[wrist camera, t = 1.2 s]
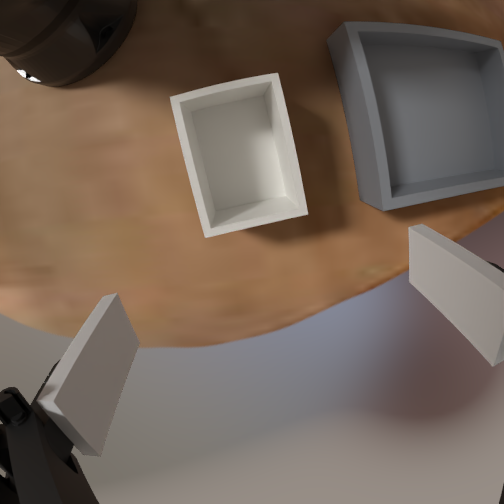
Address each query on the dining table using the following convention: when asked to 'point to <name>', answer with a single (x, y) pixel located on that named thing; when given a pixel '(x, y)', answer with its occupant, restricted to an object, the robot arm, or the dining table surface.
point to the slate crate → (420, 110)
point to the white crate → (240, 154)
